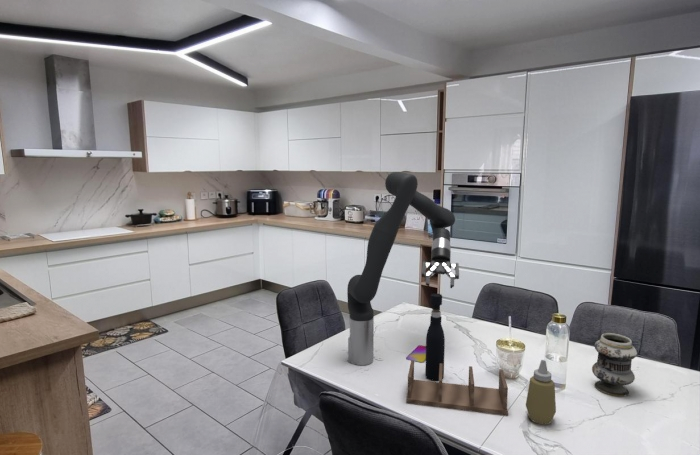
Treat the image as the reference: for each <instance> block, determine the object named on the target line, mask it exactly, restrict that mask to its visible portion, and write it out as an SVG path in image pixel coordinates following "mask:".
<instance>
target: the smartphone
mask: <svg viewBox="0 0 700 455" xmlns="http://www.w3.org/2000/svg"><path fill="white" fill-rule="evenodd" d="M405 360H407V361H410V362H411V360H412V361H414V363H419V364H423V363H426V345H421V344H419V345H417V346H416V347H415V348H414V349H413V350H412V351H411V352H410V353H409V354H408V355H407V356H406V357H405Z"/></svg>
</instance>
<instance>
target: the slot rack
mask: <svg viewBox="0 0 700 455" xmlns="http://www.w3.org/2000/svg"><path fill="white" fill-rule="evenodd" d="M442 372H443V364H442V363H440V367H439V381H431V380H422V379H415V362H414V361H412V360H411V361H410V364H409V369H408V376H407V394H406V400H405V401H406V404H410V405H417V406H426V407H434V408H443V409H449V410H457V411H465V412H474V413H481V414H488V415H490V414H491V415H497V416H505V417H508V416H509V410H508V394H509V393H508V391H509V388H508V383H507V380H506V377H505V372H504V370H503V369H501V368H499V371H498V372H499V373H498V388H495V387H486V386H476V385H475V378H474V371H473V366H470V365H469V366H468V384H459V383H449V382H443V380H442Z"/></svg>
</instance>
